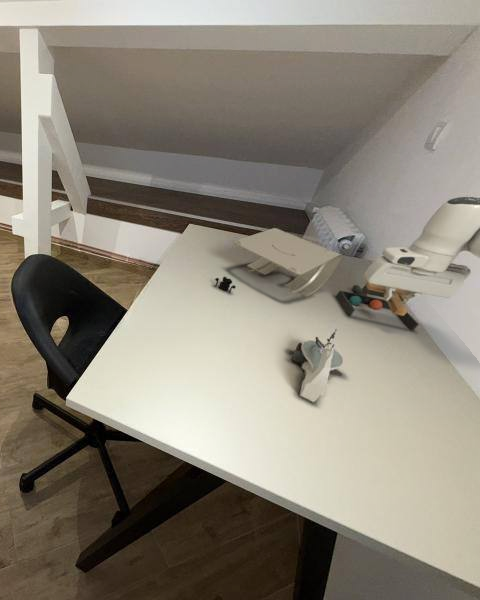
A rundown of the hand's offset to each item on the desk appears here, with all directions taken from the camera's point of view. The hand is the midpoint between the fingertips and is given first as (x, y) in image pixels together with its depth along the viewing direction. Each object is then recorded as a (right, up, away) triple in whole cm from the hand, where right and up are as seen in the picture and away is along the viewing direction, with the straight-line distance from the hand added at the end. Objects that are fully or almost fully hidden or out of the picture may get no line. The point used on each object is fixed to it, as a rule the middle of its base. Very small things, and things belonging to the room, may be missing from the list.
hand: (394, 301), depth 91 cm
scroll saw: (-37, -18, -17) cm, 45 cm away
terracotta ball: (+6, -1, +12) cm, 13 cm away
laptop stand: (-22, +7, +23) cm, 33 cm away
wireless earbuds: (-43, +4, +15) cm, 46 cm away
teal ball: (0, 0, +13) cm, 13 cm away
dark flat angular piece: (+4, -2, +14) cm, 14 cm away
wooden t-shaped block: (0, -1, +2) cm, 2 cm away
